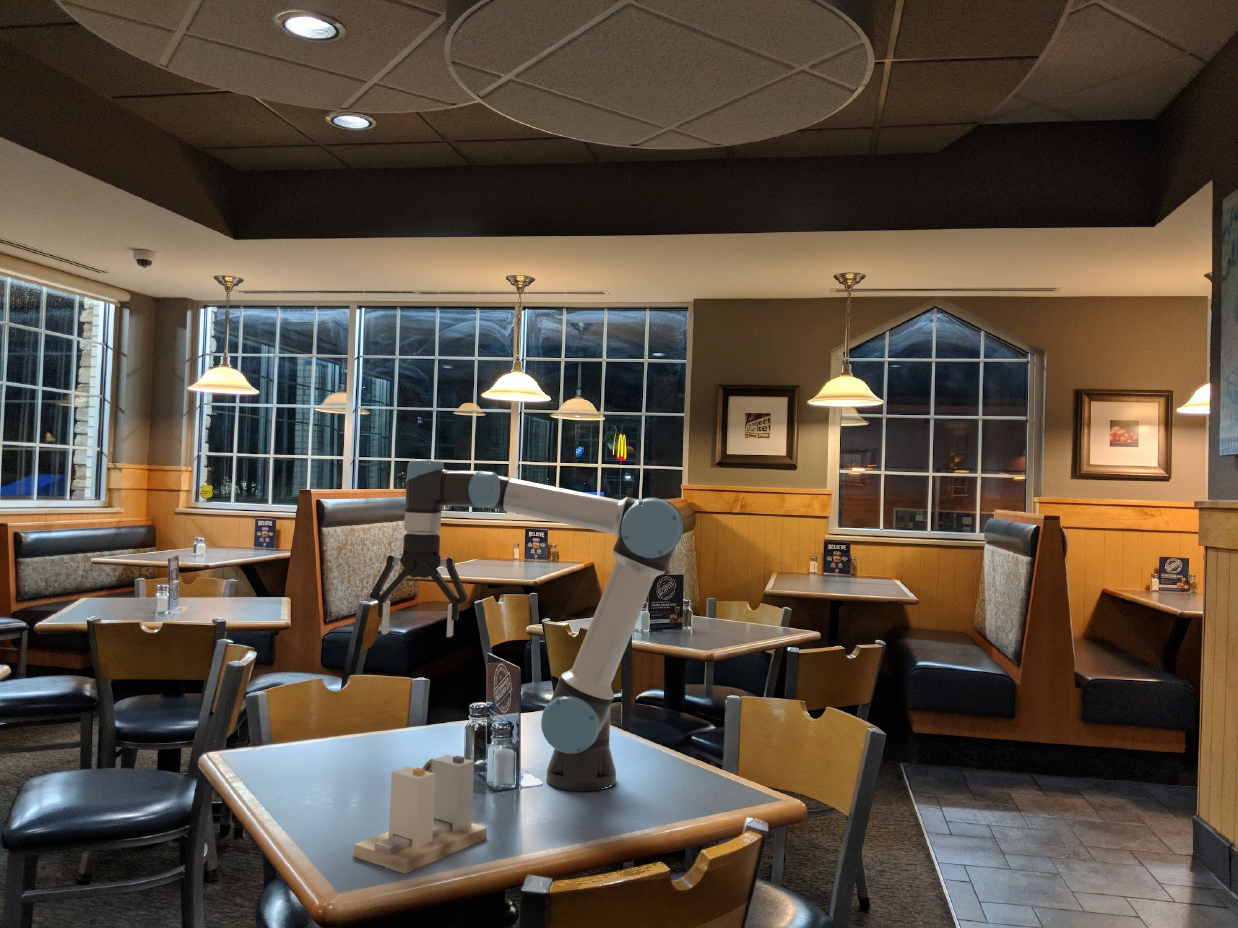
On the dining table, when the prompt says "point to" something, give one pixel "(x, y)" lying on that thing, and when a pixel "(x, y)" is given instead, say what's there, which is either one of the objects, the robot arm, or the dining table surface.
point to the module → (412, 805)
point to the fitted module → (453, 790)
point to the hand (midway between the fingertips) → (417, 634)
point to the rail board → (407, 858)
